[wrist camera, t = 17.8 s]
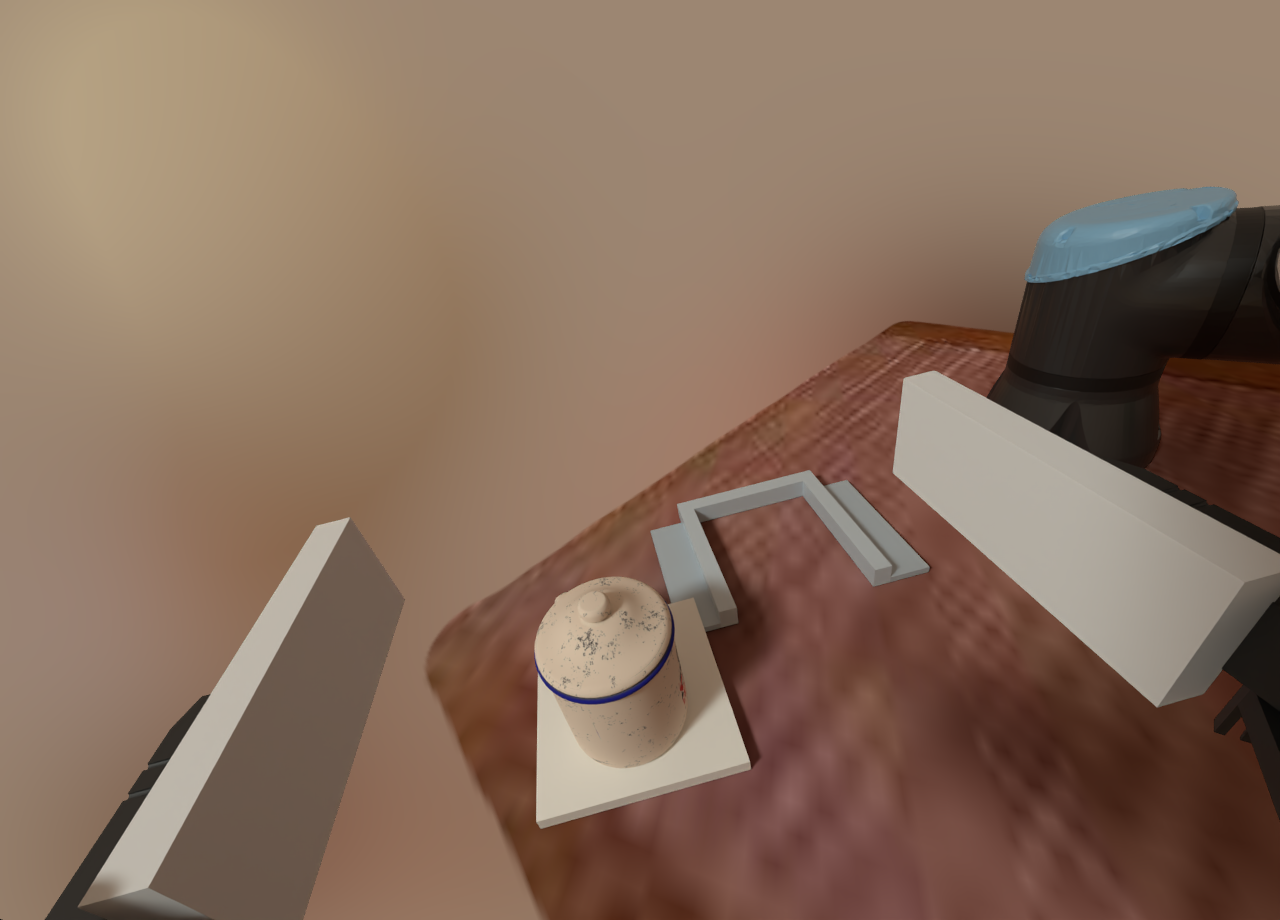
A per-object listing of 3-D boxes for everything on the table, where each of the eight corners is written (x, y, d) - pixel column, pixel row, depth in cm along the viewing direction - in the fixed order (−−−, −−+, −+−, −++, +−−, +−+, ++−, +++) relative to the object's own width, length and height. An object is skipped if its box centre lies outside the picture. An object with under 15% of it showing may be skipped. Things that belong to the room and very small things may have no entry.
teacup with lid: (718, 709, 34) (698, 598, 28) (614, 808, 30) (564, 704, 24) (621, 613, 43) (590, 512, 37) (531, 679, 39) (478, 579, 33)
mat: (694, 604, 44) (693, 597, 43) (751, 769, 32) (750, 761, 31) (541, 645, 43) (538, 638, 42) (540, 828, 31) (536, 822, 31)
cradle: (839, 477, 54) (840, 462, 53) (928, 571, 42) (931, 555, 41) (648, 526, 54) (645, 512, 52) (681, 638, 41) (677, 623, 40)
